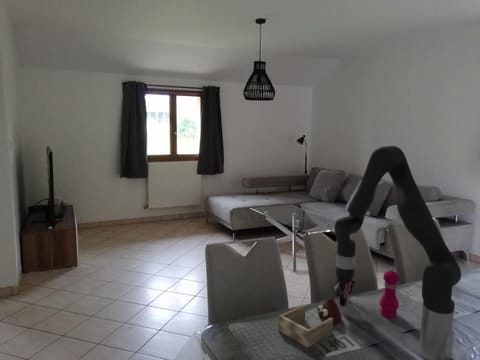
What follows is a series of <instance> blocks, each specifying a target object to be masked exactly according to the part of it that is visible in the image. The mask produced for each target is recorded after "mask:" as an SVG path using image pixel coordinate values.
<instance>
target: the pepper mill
mask: <svg viewBox="0 0 480 360" xmlns="http://www.w3.org/2000/svg"><path fill="white" fill-rule="evenodd" d="M382 279H383V281H384V282H383V286H384V287H385V288H384V293H383V294H382V295H381V298H380V300H379V306H380V311H379V313H380V315H381V316H382V317H384V318H386V319H387V318H388V319H394V318H395V319H396V317H397V316H398V315H397V314H398V312H397V310H399V306H400V304H399V300H398V297H397V294H396V291H397V288H398V283H399V281H400V274H399V273H398V272H396V271H395V268H394V267H389V270H387V271H385V272H384V274H383V278H382Z"/></svg>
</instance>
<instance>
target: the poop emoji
mask: <svg viewBox="0 0 480 360" xmlns="http://www.w3.org/2000/svg"><path fill="white" fill-rule="evenodd" d="M339 308H340V307H339V306H338V304H337V303H336V301H335V299H334V298H333V297H329V298H327V299H326V301H325V302H324V303H323V304H321V305H318V308H317V311H318V317H319V318H320V319H321V320H322V322H323V321H325V320H327V319H329V318H333V326H334V325H338V324H340V323H341V322H342V314H341V311H340V309H339Z"/></svg>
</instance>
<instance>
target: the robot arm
mask: <svg viewBox="0 0 480 360" xmlns="http://www.w3.org/2000/svg"><path fill="white" fill-rule="evenodd" d="M387 173H388V174H389V176H390V178H391V180H392V182H393V185H394V188H395V194H396V196H395V197H396V198H395V199H396V200H395V201H396V207H397V212H398V214H399V216H400V219H401V221H402V223H403V225H404V226H405V228H406V230H407V231H408V233H409V234H410V235H411V236H412V237H413V238H414V239H416V241H417V242H418V243H419V244H420V245H421V247H422V248H423V250H424V252H425V254H426V256H427V258H428V260H429V264H427V265H426V266H425V267H424V269H423V273H422V283H421V297H422V300H423V302H422V312H421V313H422V314H421V321H420V322H421V325H420V332H419V333H420V334H419V344H418V353H419V355H420V356H421V357H422V358H424V359H426V360H451V358H452V354H453V346H454V337H455V331H454V330H453V327H454V326H453V323H454V315H455V307H456V306H455V305H456V304H455V302H454V300H453V299H452V295H453V292H452V291H453V287H455V286H456V285H457V284H458V283H459V282H460V281H461V278H462V270H461V268H460V265H459V264H458V262H457V260H456V259H455V257H454V256H453V254H452V253H451V250H450V249H449V248H448V246H447V244H446V242H445V241H444V239H443V237H442V235H441V232H440V230H439V228H438V227H437V224H436V222H435V219H434V218H433V216H432V213H431V211H430V209H429V207H428V205H427V203H426V202H425V200H424V198H423V196H422V193H421V191H420V189H419V187H418V185H417V183H416V181H415V178H414V177H413V175H412V171H411V169H410V166H409V162H408V161H407V157H406V155H405V153H404V152H403V150H402V149H401V148H400V147H398V146H396V145H385V146H379V147H377V148H375V149H374V150H373V151H372V153H371V155H370V157H369V160H368V163H367V165H366V168H365V171H364V174H363V177H362V179H361V181H360V183H359V186H358V188H357V190H356V191H355V194H354V195H353V197H352V199H351V201H350V203H349V204H348V207H347V211H348V213H349V214H348V216H342V217H340V218H338V219H337V220H336V221H335V224H334V233H335V238H336V239H335V240H336V243H337V247H336V250H337V251H336V257H335V273H334V275H335V277H336V278H337V279H336V282H335V283H336V284H335V286H333V287H332V290H333V292H334V294H335V295H336V297H338V298H339V305H340V307H346V306H347V300H348V299H347V298H348V297H349V295H351V293H352V291H353V288H354V287H355V284H356V281H355V280H353V279H355V273H356V249H357V248H356V247H357V246H356V242H355V240H353V239H351V237H350V235H352V234H355V233H357V232H359V231H360V230H361V228H362V226H363V224H364V220H365V217H366V214H367V212H369V209H370V208H371V206H372V204H373V202H374V200H375V195H376V191H377V190H376V189H377V188H378V184H379V182H380V181H381V180H382V178H383V177H384V176H385V175H386V174H387Z"/></svg>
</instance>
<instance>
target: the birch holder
mask: <svg viewBox="0 0 480 360" xmlns="http://www.w3.org/2000/svg"><path fill="white" fill-rule="evenodd" d="M305 320H306V305H305V304H302V305H299V306H297V307H295V308H293V309H290V310H288V311H286V312H285V313H281V314H279V316H278V331H279V332H280V333H281V334H283V335H285V336H287V337H289V338H290V339H292V340H294V341H296V342H298V343H299V344H300V345H303V346H304V347H306V348H310V347H312V346H313V345H315V344H317V343H318V342H320V341H322V340H323V339H326V338H327V337H329V336H330V335H332V334H333V328H334V327H333V326H334V325H333V318H329V319H327V320H325V321H323V320H322V321H321V322H320V323H318V324H316V325H314V326H312V327H310V328H309V329H308V328H307V327H304V326H303V325H301V324H299V323H301V322H303V321H305Z"/></svg>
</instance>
